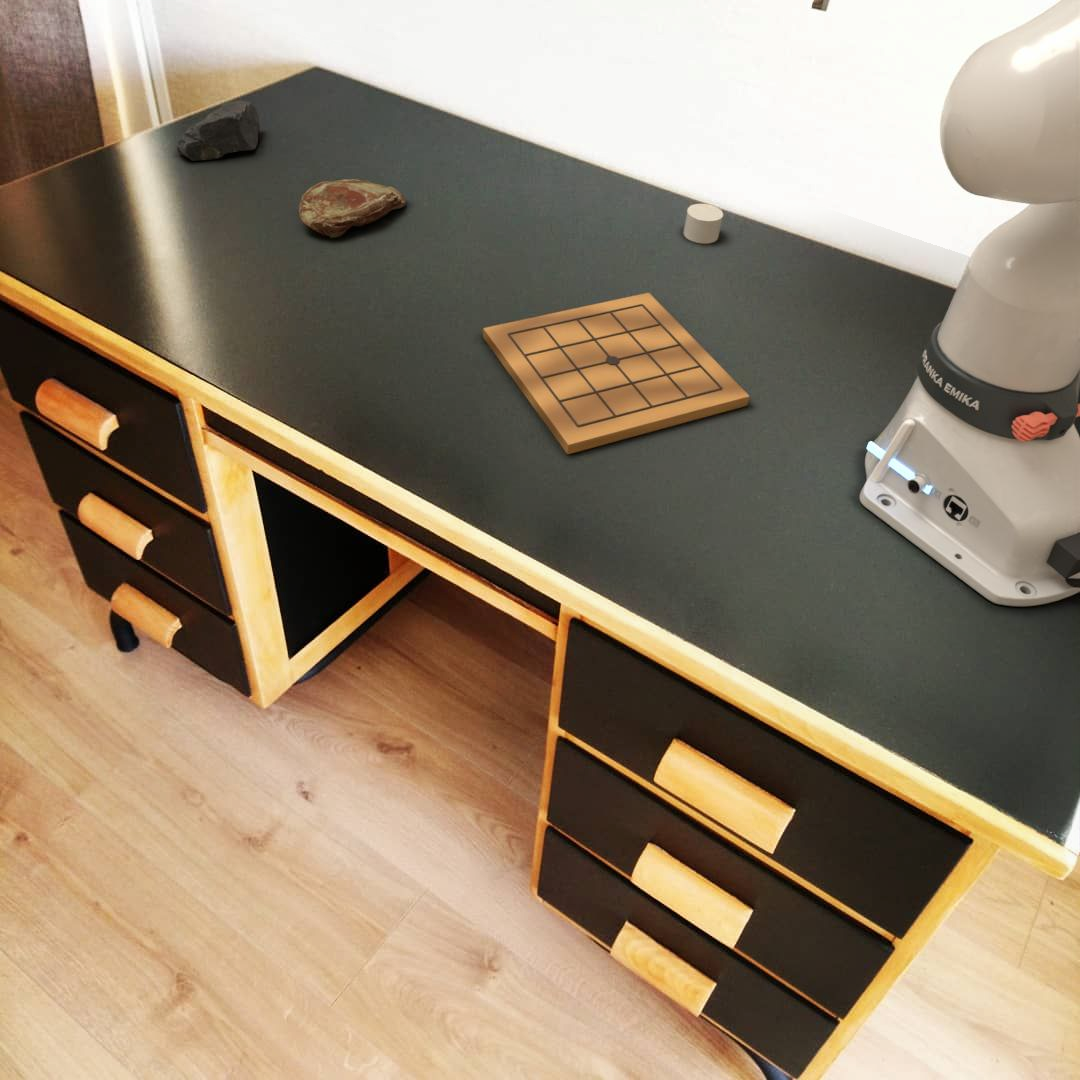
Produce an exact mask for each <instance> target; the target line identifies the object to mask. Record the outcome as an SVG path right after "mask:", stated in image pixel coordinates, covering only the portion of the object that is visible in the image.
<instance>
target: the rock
mask: <svg viewBox="0 0 1080 1080" xmlns="http://www.w3.org/2000/svg"><path fill="white" fill-rule="evenodd" d="M259 117H260V114H259V112H258V109H257V108H256V107H255V106H254V104H253V102H251V101H245V100H234V101H225V102H224V103H223V104H222V105H221V106H220V107H219V108H218V109H215V110H213V111H212V112H210V113H209V114H208V115H207V116H206V117H204V118H203V119H202V120H200V121H198V122H196V123H194V124H192V125H191V126H189V127H188V128H187V130H186V131H185V132H183V134H182V135H181V137H179V140H178V141H177V143H176V151H177V153H178V154H179V155H181V156H183V157H186V158H188V159H189V160H190V161H194V162H195V161H209V160H218V159H221V158H223V157H224V155H227V154H229V153H235V152H245V151H253V150H256V147H257V146H258V144H259V143H258V142H259V138H258V137H259V131H260V127H261V125H260V118H259Z"/></svg>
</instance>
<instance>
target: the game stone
mask: <svg viewBox="0 0 1080 1080" xmlns="http://www.w3.org/2000/svg"><path fill="white" fill-rule="evenodd" d="M723 218H724V212H723V211H722V209H721V208H719V207H717V206H715V205H712V204H708V203H695V204H691V205H689V206H688V207H687V210H686V216H685V220H684V225H683V231H682V233H683V237H685V238H686V239H687V240H688V241H690V242H693V243H697V244H712V243H715V242H716V241H717V240H719V237H720V232H721V227H722V223H723V222H722V221H723V220H724V219H723Z"/></svg>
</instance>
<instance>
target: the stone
mask: <svg viewBox="0 0 1080 1080" xmlns="http://www.w3.org/2000/svg"><path fill="white" fill-rule="evenodd" d="M406 203H407V202H406V199H405V196H404V194H403V193H401V192H400V191H398V189H396V188H394V187H393V186H385V185H383V184H379V183H372V182H371V181H368V180H360V179H354V178H352V179H341V180H333V181H326V180H325V181H321V182H319V183H317V184H314V185H313V186H311V187H310V188H308V189H307V191H305V193H304V194H302V196H301V199H300V202H299V206H298V214H299V217H300V220H301V221H302V223H303V224H305V225H306V226H308V227H309V228H310V229H311V230H313V231H315V232H317V233H320V234H322V235H323V236H328V237H329V238H330V239H335V238H339V237H341V236H342V235H343V234H345V233H346V232H347V231H348V230H349V229H351V228H352V227H362V226H365V225H368V224H371V223H374V222H376V221H378V220H379V219H381V218H382V217H384V216H386V215H387V214H389V213H390V212H391V211H392V210H398V209H402V208H403V207H405V206H406Z"/></svg>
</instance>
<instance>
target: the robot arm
mask: <svg viewBox="0 0 1080 1080" xmlns="http://www.w3.org/2000/svg"><path fill="white" fill-rule="evenodd" d="M830 3H831V0H813V1H812V4H811V9H812V10H816V11H822V12H827V11H828V8H829V6H830ZM944 98H945V99H944V102H943V105H942V110H941V115H940V122H939V141H940V142H939V143H940V148H941V152H942V156H943V160H944V162H945V165H946V168H947V169H948V171H949V174H950V176H951V177H952V178H953V180H954V181H955V183H956V184H957V185H958V186H959V187H961V189H963V190H964V191H966V192H967V193H969V194H971V195H975V196H978V197H984V198H989V199H994V200H1000V201H1006V202H1012V203H1013V202H1014V203H1019V204H1027V206H1026V207H1025V208H1024V209H1023V210H1021V211H1019V213H1017V214H1016V215H1014V216H1012V217H1011V218H1009V219H1008V220H1006V221H1004V222H1003V223H1001V224H999V225H998V226H997V227H995V228H994V229H993V230H992V231H990V232H989V233H988V234H987V235H986V236H984V238H982V240H980V242H979V243H978V244H977V246H976V247H975V249H974V250H973V252H972V253H971V255H970V257H969V259H968V262H967V264H966V266H965V268H964V271H963V274H962V276H961V278H960V280H959V282H958V285H957V287H956V289H955V292H954V294H953V296H952V299H951V301H950V304H949V306H948V309H947V311H946V313H945V315H944V318H943V320H942V321H941V322H939V323H938V324H937V325H936V326H935V327H934V329H933V331H932V333H931V335H930V336H929V339H928V341H927V343H926V345H925V347H924V350H923V352H922V355H921V356H920V359H919V361H918V364H917V377H916V378H915V380H914V382H913V384H912V386H911V388H910V390H909V391H908V393H907V395H906V397H905V398H904V400H903V402H902V404H901V405H900V407H899V409H898V410H897V411H896V412H895V414H894V415H893V417H892V419H891V420H890V421H889V423H888V424H887V426H885V428H884V429H883V430H882V432H881V433H880V434H879V435H878V436H877V437H876V438H875V440H873V441H871V440H870V441H869V442H868V443H867V446H866V450H867V451H866V453H865V457H864V468H865V476H866V479H865V480H866V481H865V482H864V485H863V486H862V488H861V490H860V493H859V496H858V497H859V498H858V499H859V502H860V504H862V506H863V507H864V508H866V509H867V510H869V512H871V513H872V514H874V515H875V516H877V517H878V518H879V519H880V520H882V521H883V522H884V523H885V524H887V525H889V526H890V527H891V528H892V529H893V530H895V531H896V532H897V533H899V534H900V535H901V536H903V537H904V538H905V539H907V540H908V541H909V542H910V543H912V544H913V545H915V546H916V547H917V548H919V550H921V551H922V552H924V553H925V554H927V556H929V557H931V558H932V559H933V560H934V561H936V562H937V563H938V564H940V565H941V566H943V568H945V569H947V570H948V571H949V572H951V573H952V574H953V575H954V576H956V578H958V579H959V580H961V581H963V583H965V584H966V585H967V586H969V587H970V588H971V589H972V590H974V591H976V592H977V593H979V594H980V595H981V596H982V597H984V598H985V599H986V600H988V601H990V602H991V603H993V604H997V605H1001V606H1008V607H1034V606H1040V605H1041V606H1042V605H1046V604H1051V603H1054V602H1057V601H1061V600H1063V599H1066V598H1069V597H1072V596H1074V595H1076V594H1078V593H1080V434H1079V432H1078V430H1077V428H1076V425H1075V422H1076V419H1077V418H1078V417H1080V403H1078V402H1079V396H1080V0H1060V1H1058V2H1057V3H1055V4H1054V5H1052V6H1050V7H1049V8H1047V9H1046V10H1045V11H1043V12H1042V13H1040V14H1039V15H1037V16H1035V17H1033V18H1032V19H1030V20H1028V21H1026V22H1025V23H1022V24H1021V25H1019V26H1017V27H1016V28H1014V29H1011V30H1010V31H1008V32H1006V33H1003V34H1001V35H999V36H997V37H995V38H993V39H991V40H988V41H987V42H985V43H984V44H982V45H981V46H979V47H978V48H976V50H975V51H973V52H972V53H971V54H970V55H969V56H968V57H967V59H966V60H965V62H963V64H962V65H961V66H960V69H959V70H958V72H957V73H956V75H955V77H954V78H953V80H952V82H951V84H950V86H949V88H948V91H947V94H946V96H945V97H944Z"/></svg>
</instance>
